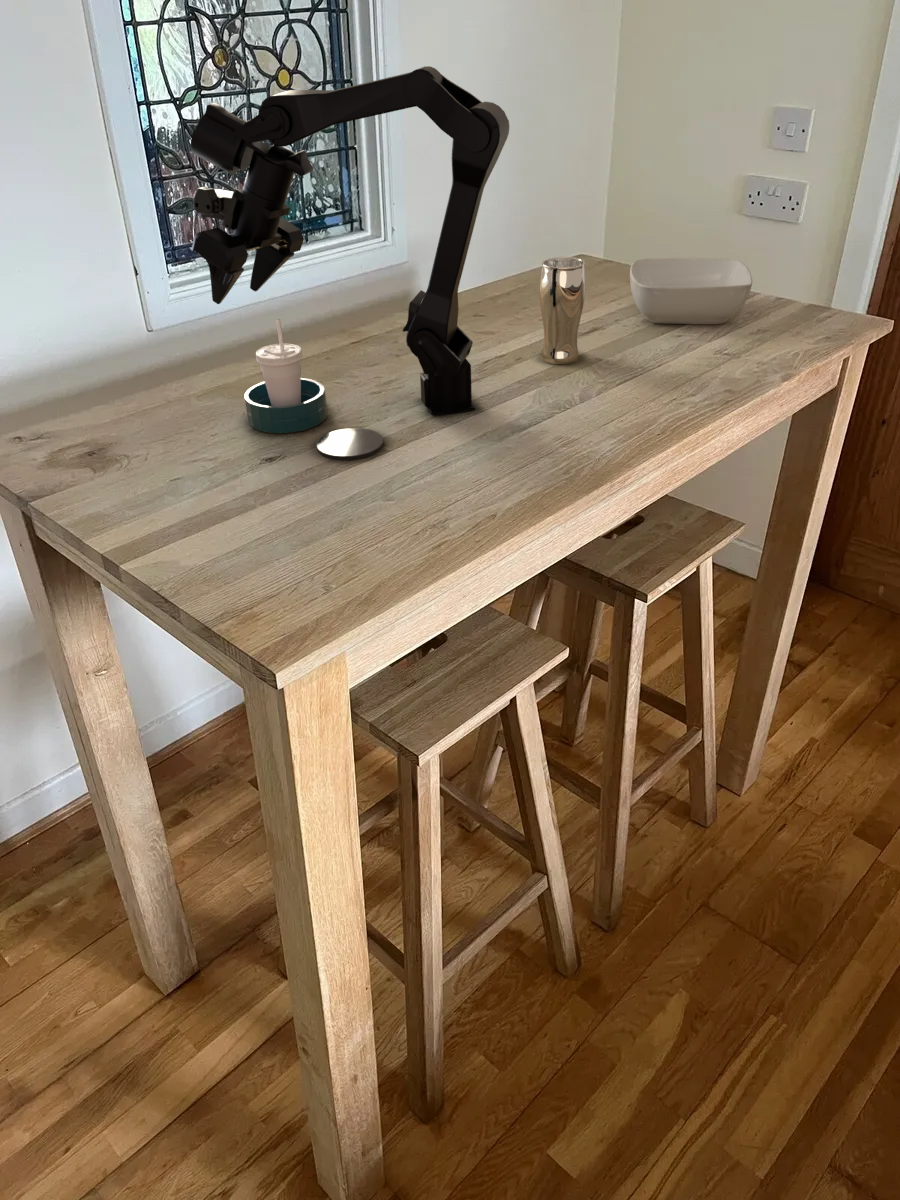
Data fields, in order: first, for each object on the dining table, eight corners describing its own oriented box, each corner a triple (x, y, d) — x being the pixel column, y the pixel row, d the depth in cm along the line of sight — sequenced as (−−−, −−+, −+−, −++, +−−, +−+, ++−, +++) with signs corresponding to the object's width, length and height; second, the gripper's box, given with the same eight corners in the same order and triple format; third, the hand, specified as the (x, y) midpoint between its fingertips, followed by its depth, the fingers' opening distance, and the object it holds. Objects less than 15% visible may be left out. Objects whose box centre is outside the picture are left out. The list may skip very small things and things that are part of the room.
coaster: (376, 428, 127) (376, 424, 127) (389, 455, 120) (389, 450, 120) (312, 437, 125) (311, 432, 125) (321, 464, 118) (321, 460, 118)
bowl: (626, 296, 174) (629, 254, 170) (736, 296, 171) (742, 254, 167) (628, 331, 157) (631, 285, 153) (751, 332, 154) (758, 286, 150)
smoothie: (301, 427, 128) (288, 327, 120) (258, 424, 129) (242, 326, 121) (316, 409, 133) (304, 312, 125) (274, 406, 134) (260, 311, 126)
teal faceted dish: (321, 399, 136) (318, 373, 134) (332, 428, 127) (329, 401, 125) (246, 409, 134) (241, 383, 132) (252, 439, 125) (247, 412, 123)
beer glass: (532, 363, 146) (534, 266, 137) (545, 348, 151) (548, 255, 143) (575, 367, 144) (579, 269, 135) (586, 353, 149) (591, 257, 140)
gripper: (255, 155, 130) (227, 256, 139) (172, 166, 115) (147, 278, 124) (319, 195, 129) (287, 294, 138) (244, 212, 114) (213, 321, 123)
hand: (235, 296), depth 131 cm, fingers open, 9 cm apart
